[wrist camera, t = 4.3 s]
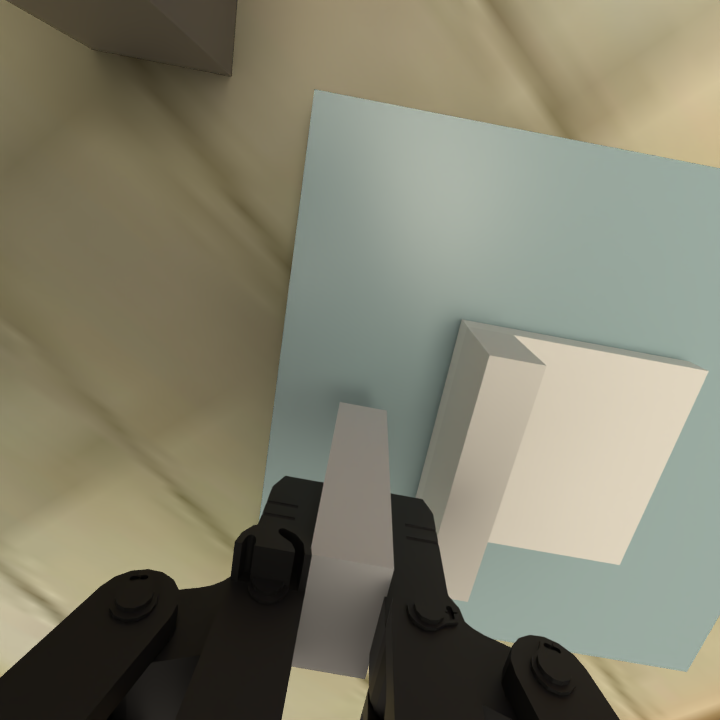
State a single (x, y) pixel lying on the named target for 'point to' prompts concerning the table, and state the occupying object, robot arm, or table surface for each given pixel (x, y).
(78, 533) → the table surface
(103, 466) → the table surface
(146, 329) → the table surface
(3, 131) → the table surface
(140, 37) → the plug
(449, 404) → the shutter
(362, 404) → the socket plate
